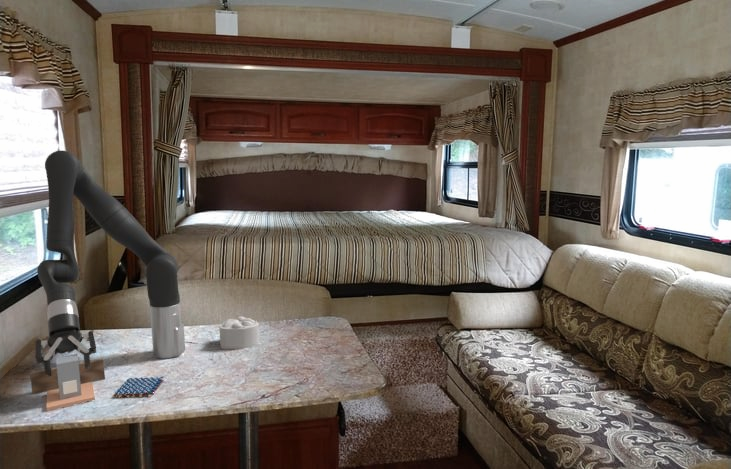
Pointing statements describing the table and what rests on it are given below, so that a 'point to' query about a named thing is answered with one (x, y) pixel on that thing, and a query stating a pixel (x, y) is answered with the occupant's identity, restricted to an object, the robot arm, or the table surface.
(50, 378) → the walnut screen
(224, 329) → the lumpy-topped squat cylinder
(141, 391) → the woven mat
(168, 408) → the table surface
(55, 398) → the terracotta tile
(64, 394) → the plain grey block
